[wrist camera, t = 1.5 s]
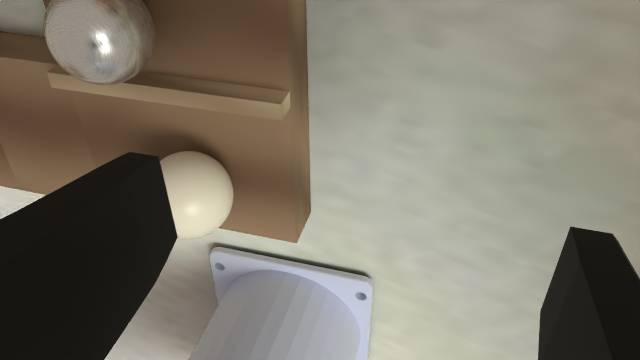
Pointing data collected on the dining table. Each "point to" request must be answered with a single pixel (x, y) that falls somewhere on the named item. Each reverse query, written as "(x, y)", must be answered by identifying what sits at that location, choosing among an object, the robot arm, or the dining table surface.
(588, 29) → the dining table surface
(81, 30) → the steel ball
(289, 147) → the hole plate
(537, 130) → the dining table surface
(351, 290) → the robot arm
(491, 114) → the dining table surface
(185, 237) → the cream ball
